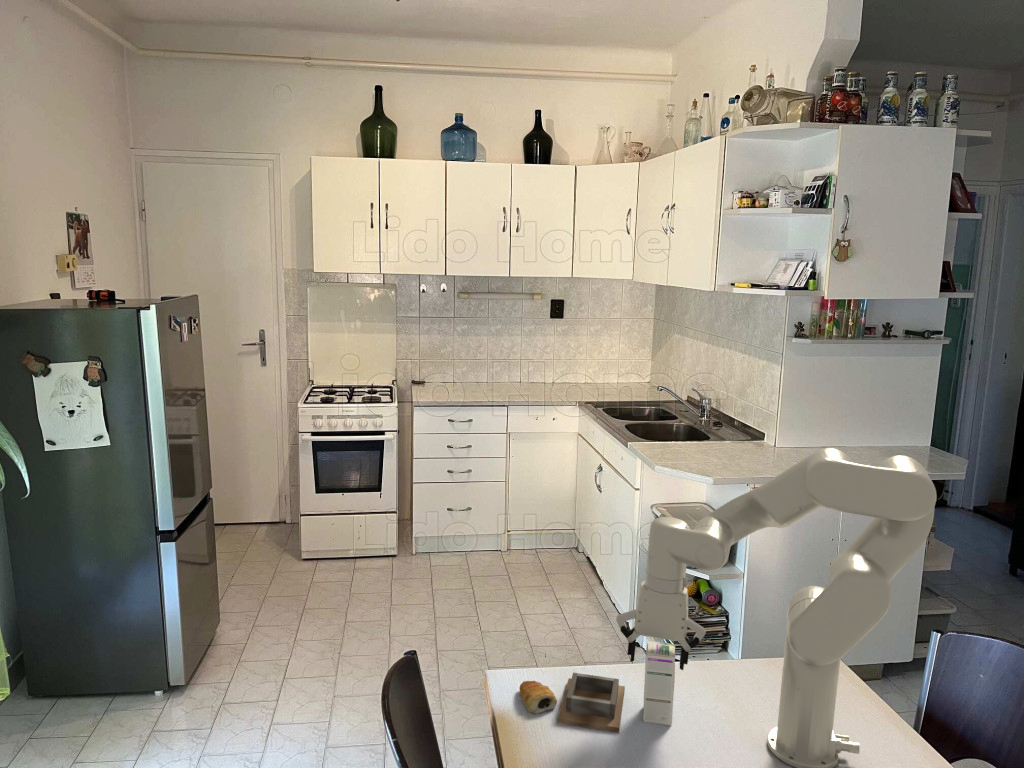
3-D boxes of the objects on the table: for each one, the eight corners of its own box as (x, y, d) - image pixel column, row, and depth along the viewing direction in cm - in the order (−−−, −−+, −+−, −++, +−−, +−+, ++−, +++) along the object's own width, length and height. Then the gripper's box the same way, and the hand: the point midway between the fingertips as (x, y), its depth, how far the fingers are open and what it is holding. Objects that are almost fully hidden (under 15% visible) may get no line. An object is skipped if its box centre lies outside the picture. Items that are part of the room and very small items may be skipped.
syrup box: (672, 726, 148) (676, 657, 146) (641, 722, 149) (645, 653, 147) (672, 710, 153) (676, 643, 151) (642, 706, 154) (646, 639, 152)
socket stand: (624, 690, 160) (625, 673, 159) (619, 732, 145) (620, 713, 145) (568, 682, 162) (569, 665, 162) (557, 722, 148) (558, 704, 147)
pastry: (511, 692, 158) (512, 675, 158) (540, 686, 161) (540, 669, 160) (530, 717, 150) (531, 699, 149) (560, 709, 153) (561, 692, 152)
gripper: (709, 580, 149) (700, 660, 151) (621, 567, 152) (614, 646, 155) (711, 596, 141) (702, 679, 144) (618, 582, 145) (611, 664, 148)
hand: (656, 662), depth 150 cm, fingers open, 9 cm apart
